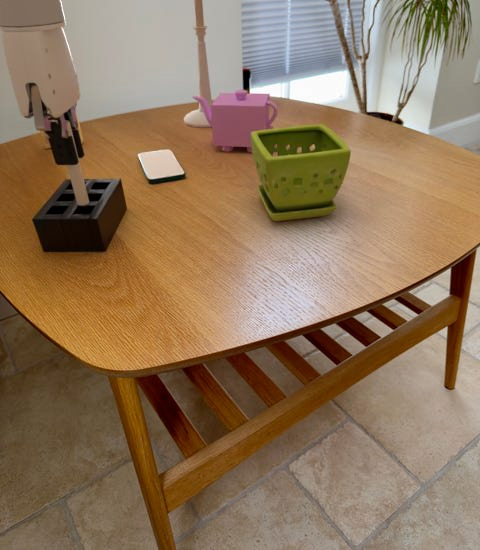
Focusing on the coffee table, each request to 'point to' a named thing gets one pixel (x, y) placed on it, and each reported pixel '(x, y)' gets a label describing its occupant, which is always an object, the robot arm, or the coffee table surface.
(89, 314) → the coffee table surface
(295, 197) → the flower pot
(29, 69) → the robot arm
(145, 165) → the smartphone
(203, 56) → the candlestick
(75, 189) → the light grey square rod
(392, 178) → the coffee table surface
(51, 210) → the organizer
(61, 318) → the coffee table surface
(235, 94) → the teapot
